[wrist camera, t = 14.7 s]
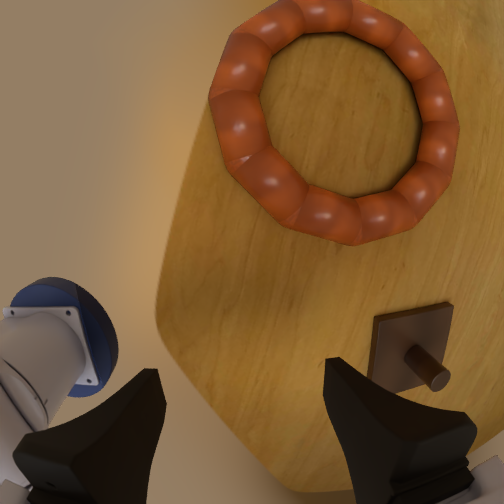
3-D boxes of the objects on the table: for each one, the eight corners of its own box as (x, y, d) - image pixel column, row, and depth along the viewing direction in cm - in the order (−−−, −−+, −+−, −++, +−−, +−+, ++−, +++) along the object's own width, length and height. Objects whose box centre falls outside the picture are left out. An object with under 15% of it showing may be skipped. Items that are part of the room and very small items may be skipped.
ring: (251, 267, 21) (256, 280, 18) (188, 25, 17) (184, 5, 14) (457, 208, 22) (481, 212, 19) (402, 11, 18) (419, -3, 15)
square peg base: (363, 394, 24) (388, 433, 19) (373, 316, 23) (408, 348, 17) (432, 374, 25) (462, 404, 20) (447, 301, 23) (486, 324, 18)
